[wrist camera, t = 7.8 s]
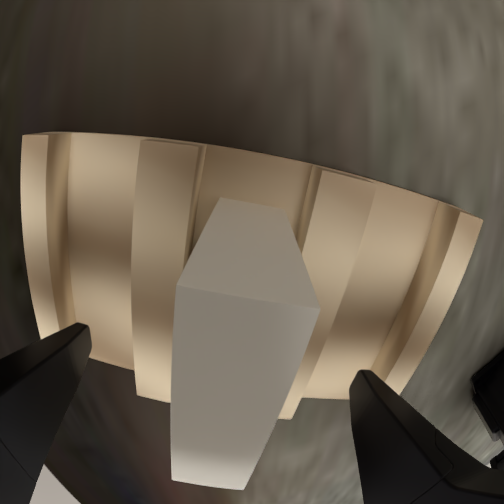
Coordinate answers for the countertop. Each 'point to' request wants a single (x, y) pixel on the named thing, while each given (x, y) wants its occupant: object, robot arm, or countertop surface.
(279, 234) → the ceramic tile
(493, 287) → the countertop surface
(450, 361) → the countertop surface
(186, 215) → the slotted rack
